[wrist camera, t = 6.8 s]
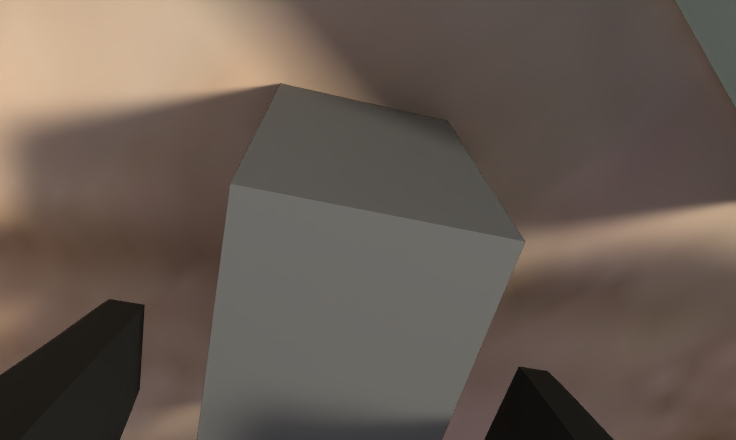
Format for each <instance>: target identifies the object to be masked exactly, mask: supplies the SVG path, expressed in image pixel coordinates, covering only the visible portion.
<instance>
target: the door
mask: <svg viewBox="0 0 736 440" xmlns="http://www.w3.org/2000/svg"><path fill="white" fill-rule="evenodd" d="M675 1H676V3H677V5H678V6H679V8H680V10H681V12H682V13H683V15H684V17H685V19H686V21H687V22H688V24H689V26H690V28H691V30H692V31H693V33H694V35H695V37H696V39H697V40H698V42H699V44H700V46H701V47H702V49H703V51H704V53H705V55H706V56H707V58H708V60H709V62H710V64H711V65H712V67H713V69H714V71H715V72H716V74H717V76H718V78H719V80H720V81H721V83H722V85H723V87H724V89H725V90H726V92H727V94H728V96H729V98H730V99H731V101H732V103H733V105H734V106H735V108H736V0H675Z"/></svg>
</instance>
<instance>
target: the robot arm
mask: <svg viewBox="0 0 736 440" xmlns="http://www.w3.org/2000/svg"><path fill="white" fill-rule="evenodd" d="M144 306H145V305H142V304H136V303H129V302H123V301H117V300H111V299H109V300H107V301H106V302H104V303H103V304H101V305H100V306H98V307H97V308H95V309H94V310H93V311H91V312H90V313H88V314H87V315H86V316H84V317H83V318H82V319H80V320H79V321H77V322H76V323H75V324H73V325H72V326H70V327H69V328H68V329H66V330H65V331H64V332H62V333H61V334H59V335H58V336H56V337H55V338H54V339H52V340H51V341H49V342H48V343H47V344H45V345H44V346H42V347H41V348H39V349H38V350H36V351H35V352H34V353H32V354H31V355H29V356H28V357H26V358H25V359H23V360H22V361H20V362H19V363H17V364H16V365H14V366H13V367H11V368H10V369H8V370H7V371H6V372H4V373H3V374H1V375H0V440H120V438H121V435H122V433H123V430H124V428H125V425H126V423H127V421H128V418H129V415H130V413H131V410H132V408H133V405H134V402H135V400H136V397H137V395H138V392H139V389H140V374H141V357H142V340H143V323H144ZM485 440H613V438H612V437H611V436H610V435H609V434H608V433H607V432H606V431H605V430H604V429H603V428H602V427H601V426H600V425H599V424H598V423H597V422H596V420H595V419H594V418H593V417H592V416H591V415H590V414H589V413H588V412H587V411H586V410H585V409H584V408H583V407H582V406H581V405H580V403H579V402H578V401H577V400H576V399H575V398H574V397H573V396H572V395H571V394H570V393H569V392H568V391H567V390H566V389H565V388H564V387H563V386H562V385H561V384H560V383H559V382H558V381H557V380H556V379H555V378H554V377H553V376H552V375H551V374H550V373H549V372H548V371H543V370H536V369H530V368H524V367H518V370H517V372H516V374H515V376H514V378H513V380H512V382H511V384H510V386H509V389H508V391H507V393H506V395H505V397H504V399H503V401H502V403H501V406H500V408H499V410H498V412H497V414H496V416H495V418H494V420H493V423H492V425H491V427H490V429H489V431H488V433H487V435H486V437H485Z"/></svg>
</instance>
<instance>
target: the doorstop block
mask: <svg viewBox="0 0 736 440" xmlns="http://www.w3.org/2000/svg"><path fill="white" fill-rule="evenodd" d="M524 243H525V240H524V239H523V237H522V236H521V234H520V233H519V231H518V230H517V228H516V226H515V225H514V223H513V222H512V220H511V219H510V217H509V216H508V214H507V212H506V211H505V209H504V208H503V206H502V205H501V203H500V202H499V200H498V198H497V197H496V195H495V194H494V192H493V191H492V189H491V188H490V186H489V184H488V183H487V181H486V180H485V178H484V177H483V175H482V174H481V172H480V170H479V169H478V167H477V166H476V164H475V163H474V161H473V160H472V158H471V156H470V155H469V153H468V152H467V150H466V149H465V147H464V146H463V144H462V142H461V141H460V139H459V138H458V136H457V135H456V133H455V132H454V130H453V128H452V127H451V125H450V124H449V122H448V121H445V120H440V119H436V118H431V117H427V116H423V115H418V114H414V113H409V112H405V111H401V110H396V109H392V108H387V107H383V106H378V105H374V104H370V103H365V102H361V101H356V100H352V99H348V98H343V97H339V96H334V95H330V94H325V93H321V92H317V91H312V90H308V89H303V88H299V87H294V86H290V85H286V84H280V86H279V88H278V90H277V92H276V94H275V96H274V98H273V100H272V102H271V104H270V106H269V108H268V110H267V112H266V114H265V116H264V118H263V120H262V122H261V124H260V126H259V128H258V130H257V132H256V134H255V136H254V138H253V140H252V142H251V144H250V146H249V148H248V150H247V152H246V153H245V155H244V157H243V159H242V161H241V163H240V165H239V167H238V169H237V171H236V173H235V175H234V177H233V179H232V181H231V183H230V190H229V197H228V205H227V213H226V220H225V228H224V236H223V243H222V251H221V259H220V266H219V274H218V282H217V289H216V297H215V305H214V312H213V320H212V328H211V335H210V343H209V351H208V358H207V366H206V374H205V381H204V389H203V397H202V404H201V412H200V420H199V427H198V435H197V440H442V438H443V436H444V434H445V431H446V429H447V427H448V424H449V422H450V419H451V417H452V415H453V412H454V410H455V408H456V405H457V403H458V400H459V398H460V396H461V393H462V391H463V389H464V386H465V384H466V381H467V379H468V377H469V374H470V372H471V369H472V367H473V365H474V362H475V360H476V358H477V355H478V353H479V350H480V348H481V346H482V343H483V341H484V339H485V336H486V334H487V331H488V329H489V327H490V324H491V322H492V320H493V317H494V315H495V312H496V310H497V308H498V305H499V303H500V301H501V298H502V296H503V293H504V291H505V289H506V286H507V284H508V281H509V279H510V277H511V274H512V272H513V270H514V267H515V265H516V262H517V260H518V258H519V255H520V253H521V251H522V248H523V246H524Z"/></svg>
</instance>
